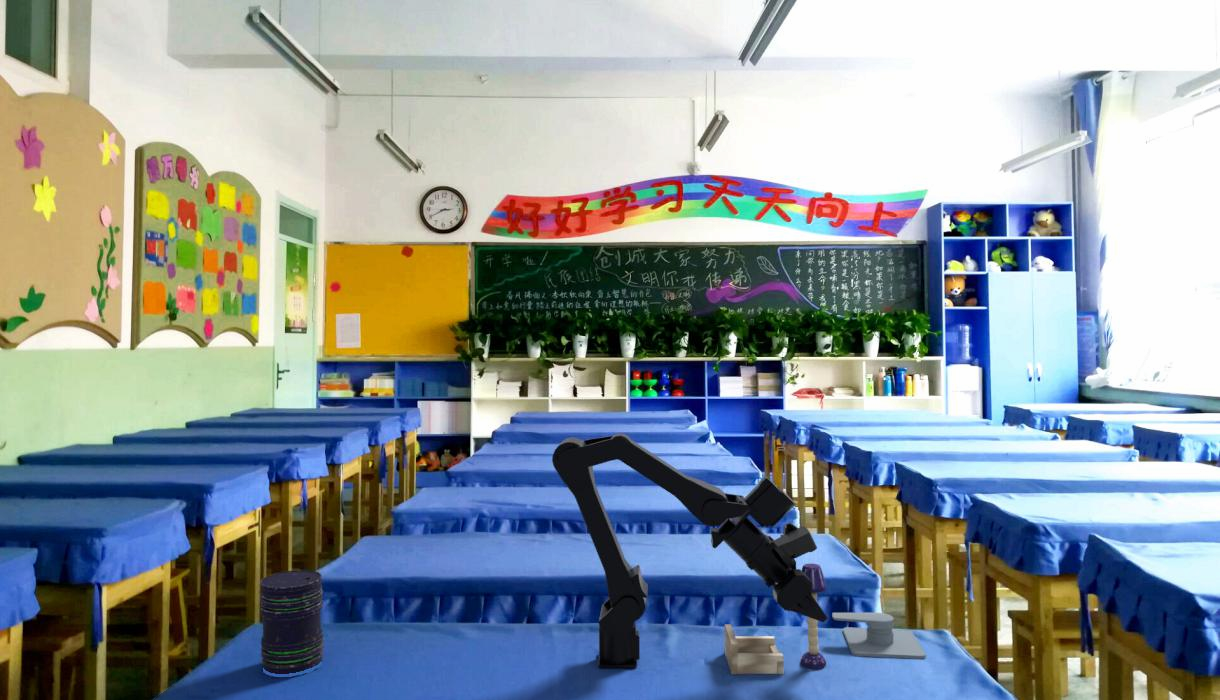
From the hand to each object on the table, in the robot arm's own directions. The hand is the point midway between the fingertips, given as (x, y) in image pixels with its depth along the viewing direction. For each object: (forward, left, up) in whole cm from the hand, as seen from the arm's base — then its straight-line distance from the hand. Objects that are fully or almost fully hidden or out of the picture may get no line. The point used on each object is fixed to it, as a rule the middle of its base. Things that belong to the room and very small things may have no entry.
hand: (818, 610), depth 141 cm
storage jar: (-89, -1, -9) cm, 90 cm away
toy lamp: (-1, 0, -9) cm, 9 cm away
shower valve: (+12, +9, -10) cm, 18 cm away
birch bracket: (-11, 0, -9) cm, 14 cm away
